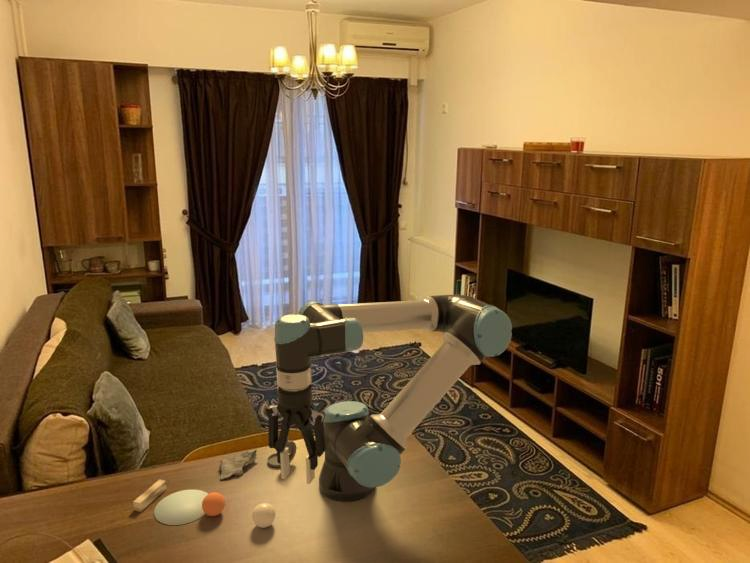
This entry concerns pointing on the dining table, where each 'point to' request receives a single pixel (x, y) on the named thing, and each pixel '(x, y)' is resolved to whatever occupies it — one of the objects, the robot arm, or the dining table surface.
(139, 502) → the birch rail
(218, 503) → the object ball
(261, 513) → the cue ball
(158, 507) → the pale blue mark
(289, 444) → the pocket watch
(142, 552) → the dining table surface
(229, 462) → the mineral specimen
